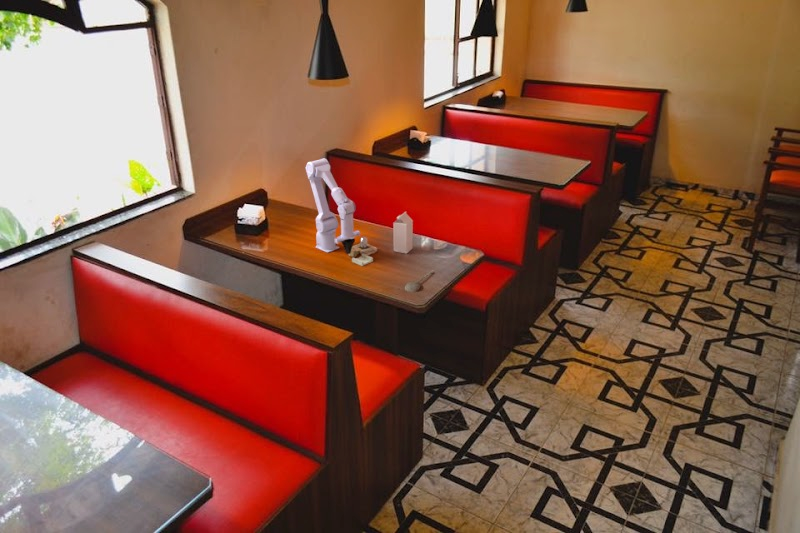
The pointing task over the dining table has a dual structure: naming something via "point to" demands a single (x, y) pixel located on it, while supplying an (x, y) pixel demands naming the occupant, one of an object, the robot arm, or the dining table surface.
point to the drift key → (355, 252)
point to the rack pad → (362, 260)
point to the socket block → (367, 251)
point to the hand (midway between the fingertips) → (348, 252)
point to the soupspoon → (415, 284)
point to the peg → (363, 243)
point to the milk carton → (403, 234)
